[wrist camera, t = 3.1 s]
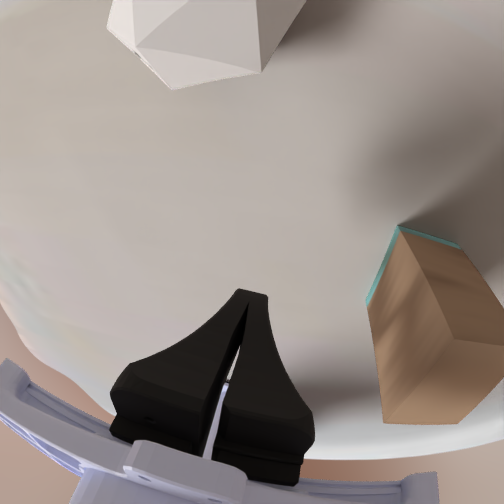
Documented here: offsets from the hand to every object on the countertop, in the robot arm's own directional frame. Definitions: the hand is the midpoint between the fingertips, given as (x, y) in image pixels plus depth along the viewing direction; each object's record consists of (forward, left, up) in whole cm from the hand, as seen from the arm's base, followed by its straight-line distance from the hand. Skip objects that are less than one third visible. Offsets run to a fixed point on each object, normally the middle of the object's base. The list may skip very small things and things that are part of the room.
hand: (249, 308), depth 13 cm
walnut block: (0, -10, -7) cm, 12 cm away
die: (+13, +5, -7) cm, 16 cm away
